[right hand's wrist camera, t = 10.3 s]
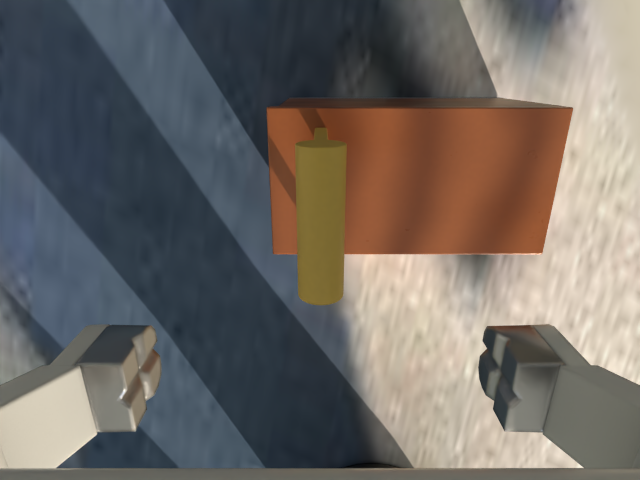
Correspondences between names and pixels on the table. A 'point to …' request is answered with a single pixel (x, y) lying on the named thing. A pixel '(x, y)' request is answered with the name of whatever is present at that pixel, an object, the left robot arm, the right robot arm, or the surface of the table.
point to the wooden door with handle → (409, 183)
